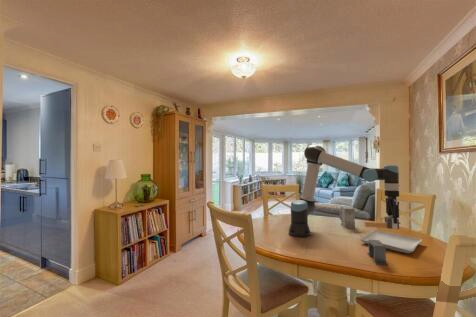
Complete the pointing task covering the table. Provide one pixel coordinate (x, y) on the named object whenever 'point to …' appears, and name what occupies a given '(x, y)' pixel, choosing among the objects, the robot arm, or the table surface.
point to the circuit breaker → (347, 217)
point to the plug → (382, 223)
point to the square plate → (393, 241)
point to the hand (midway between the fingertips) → (392, 227)
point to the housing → (377, 252)
